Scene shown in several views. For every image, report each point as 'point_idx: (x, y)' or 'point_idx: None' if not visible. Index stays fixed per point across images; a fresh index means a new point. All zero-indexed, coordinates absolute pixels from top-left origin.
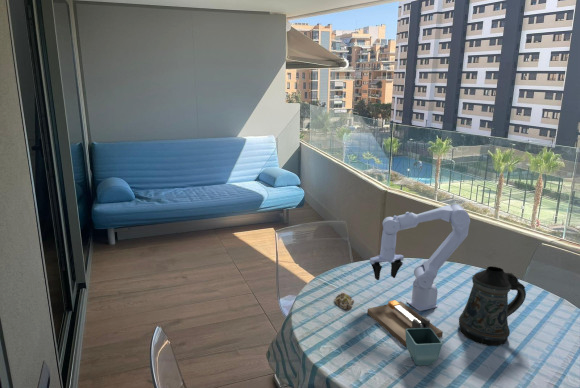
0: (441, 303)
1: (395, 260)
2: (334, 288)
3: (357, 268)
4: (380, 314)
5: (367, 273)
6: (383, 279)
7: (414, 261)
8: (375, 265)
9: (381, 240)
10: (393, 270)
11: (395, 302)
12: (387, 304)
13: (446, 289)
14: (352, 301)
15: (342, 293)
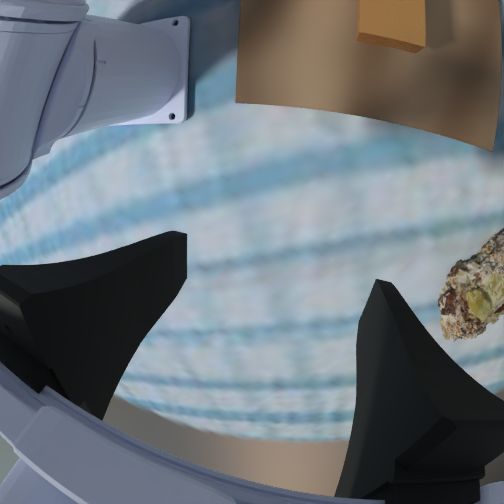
0: None
1: (43, 387)
2: None
3: (212, 414)
4: (472, 59)
5: (199, 386)
6: (164, 333)
7: None
8: (491, 458)
9: None
10: (142, 297)
11: (379, 6)
12: (351, 113)
13: None
14: (464, 270)
15: (471, 333)
